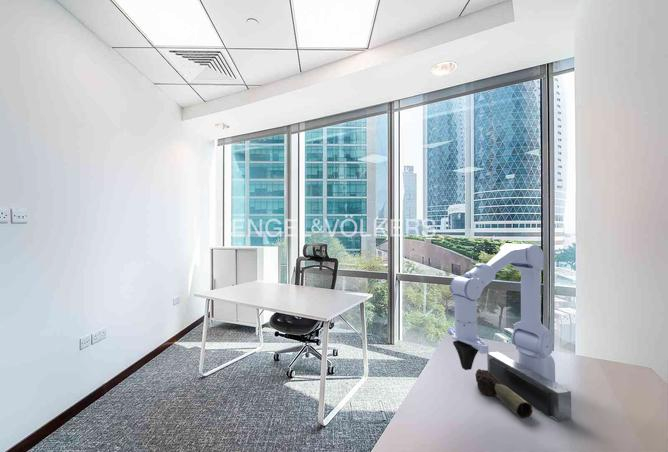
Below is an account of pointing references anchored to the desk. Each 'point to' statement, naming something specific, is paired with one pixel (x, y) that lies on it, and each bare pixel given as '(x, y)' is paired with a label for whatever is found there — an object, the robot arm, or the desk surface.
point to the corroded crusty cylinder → (502, 393)
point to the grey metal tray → (531, 386)
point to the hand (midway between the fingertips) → (466, 368)
